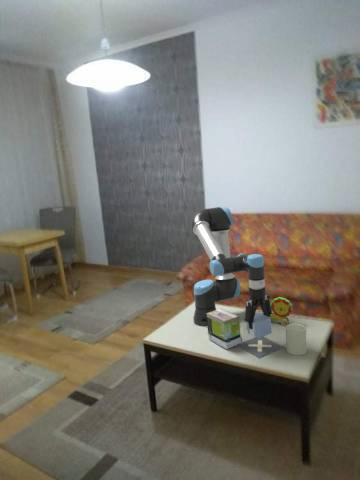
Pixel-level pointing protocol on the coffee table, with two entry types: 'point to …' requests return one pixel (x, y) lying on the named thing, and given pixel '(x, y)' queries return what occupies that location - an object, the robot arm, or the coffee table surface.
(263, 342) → the letter mat
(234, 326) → the tea box
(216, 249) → the robot arm
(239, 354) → the coffee table surface
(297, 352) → the can
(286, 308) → the toy lion
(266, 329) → the blue cube
